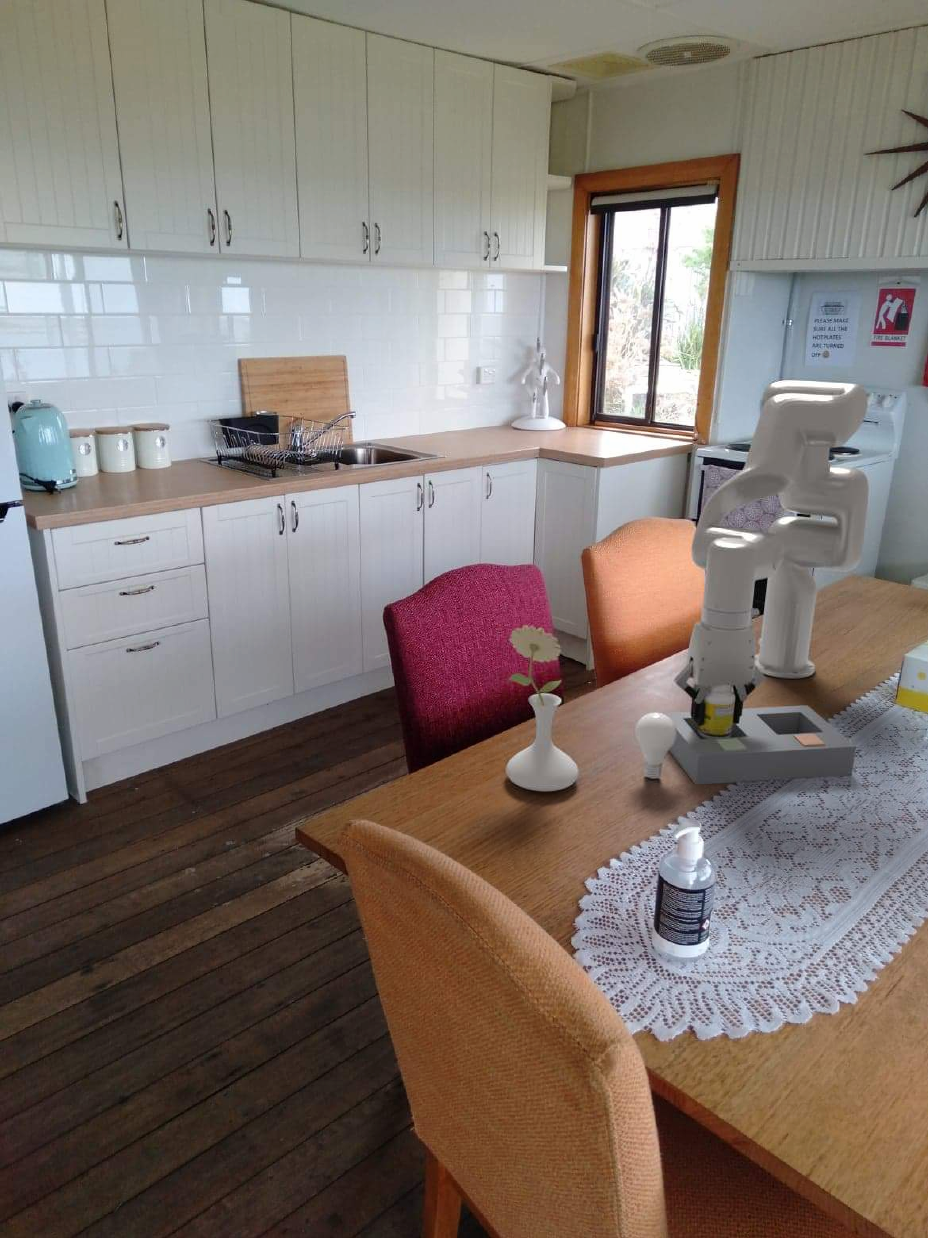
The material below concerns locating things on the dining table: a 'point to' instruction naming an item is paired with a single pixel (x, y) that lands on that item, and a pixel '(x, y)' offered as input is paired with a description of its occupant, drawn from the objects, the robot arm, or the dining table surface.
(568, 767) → the flower in vase
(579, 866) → the dining table surface
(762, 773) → the socket board
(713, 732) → the supplement bottle
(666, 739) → the lightbulb
